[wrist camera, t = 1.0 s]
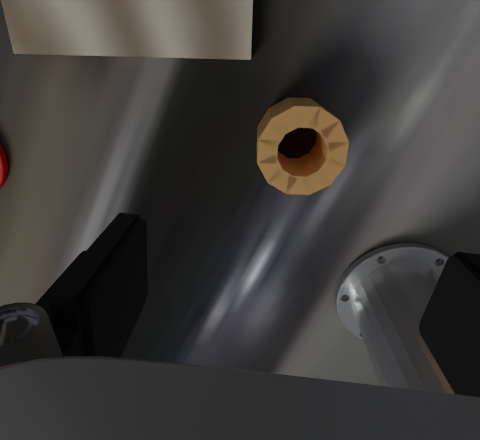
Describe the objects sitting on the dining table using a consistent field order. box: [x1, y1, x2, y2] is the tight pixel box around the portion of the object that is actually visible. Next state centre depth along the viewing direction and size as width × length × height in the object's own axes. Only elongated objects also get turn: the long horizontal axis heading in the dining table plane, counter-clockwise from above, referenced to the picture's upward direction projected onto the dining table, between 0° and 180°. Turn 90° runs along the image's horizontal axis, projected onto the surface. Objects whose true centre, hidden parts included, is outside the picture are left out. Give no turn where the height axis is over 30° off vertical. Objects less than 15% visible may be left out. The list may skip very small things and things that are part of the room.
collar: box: [257, 97, 349, 195], centre depth 27 cm, size 6×6×5 cm
